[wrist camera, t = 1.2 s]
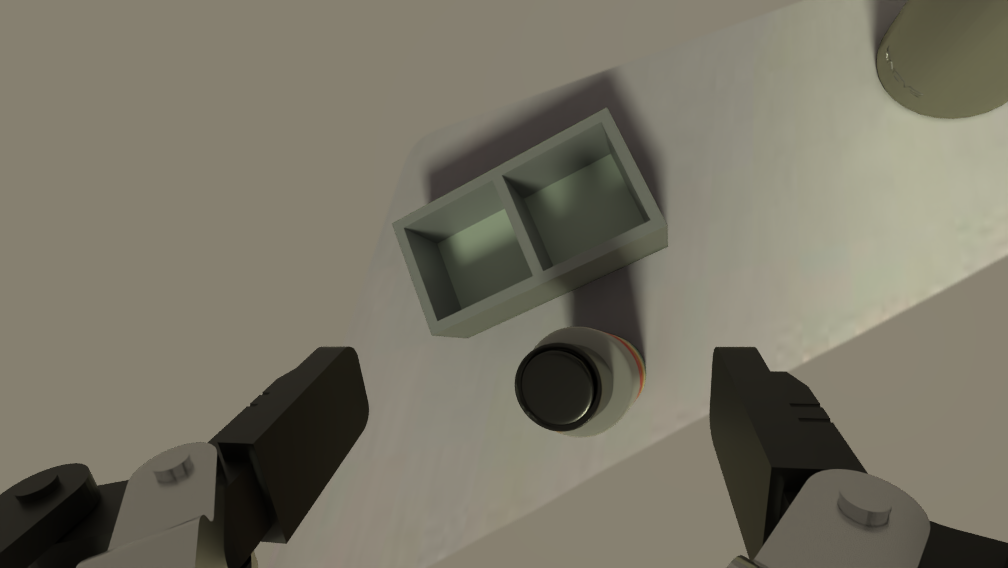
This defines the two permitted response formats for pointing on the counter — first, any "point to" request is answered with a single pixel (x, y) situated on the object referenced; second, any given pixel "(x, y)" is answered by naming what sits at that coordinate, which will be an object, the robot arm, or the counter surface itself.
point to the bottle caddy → (531, 230)
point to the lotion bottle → (579, 381)
